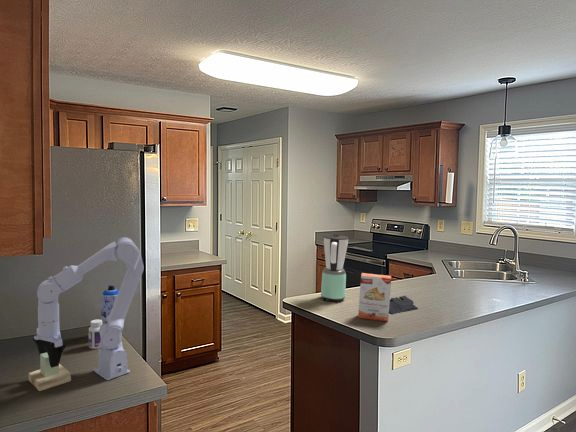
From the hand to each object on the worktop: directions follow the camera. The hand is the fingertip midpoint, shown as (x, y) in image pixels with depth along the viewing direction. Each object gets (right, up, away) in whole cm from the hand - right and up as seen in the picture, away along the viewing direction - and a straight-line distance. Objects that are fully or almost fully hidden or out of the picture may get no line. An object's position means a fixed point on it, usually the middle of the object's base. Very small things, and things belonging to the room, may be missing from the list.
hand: (49, 362), depth 133 cm
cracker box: (+114, -4, +71) cm, 135 cm away
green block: (0, -3, 0) cm, 3 cm away
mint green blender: (+98, 0, +98) cm, 139 cm away
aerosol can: (+3, -2, +38) cm, 38 cm away
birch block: (0, -6, +1) cm, 6 cm away
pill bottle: (+3, -3, +27) cm, 27 cm away
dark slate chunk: (+129, -3, +90) cm, 157 cm away
